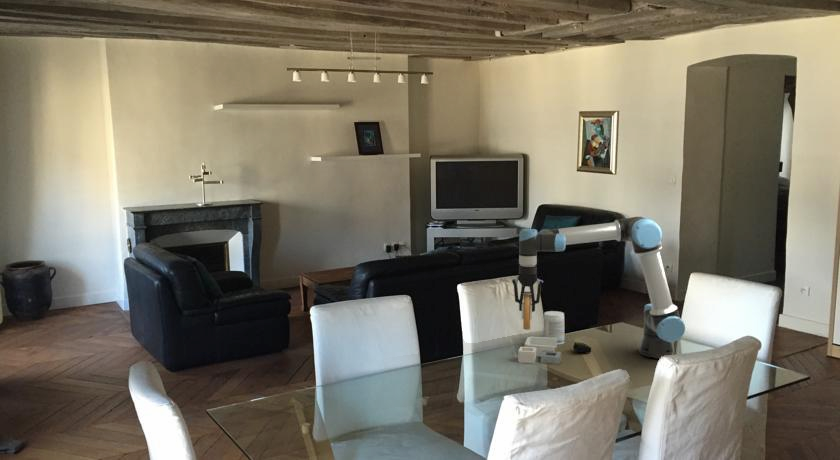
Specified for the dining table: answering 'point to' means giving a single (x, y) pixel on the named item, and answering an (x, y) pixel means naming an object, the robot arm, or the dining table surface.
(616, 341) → the dining table surface
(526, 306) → the lock pin
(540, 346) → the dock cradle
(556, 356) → the pin mount
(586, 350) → the tape measure
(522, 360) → the socket block
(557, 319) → the supplement tub
